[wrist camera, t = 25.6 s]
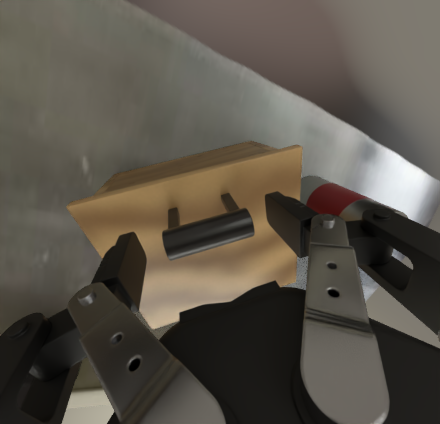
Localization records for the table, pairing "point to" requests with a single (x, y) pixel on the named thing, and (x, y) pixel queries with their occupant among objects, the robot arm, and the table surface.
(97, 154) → the table surface
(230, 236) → the lid
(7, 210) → the table surface
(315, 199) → the can
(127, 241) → the robot arm
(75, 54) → the table surface
